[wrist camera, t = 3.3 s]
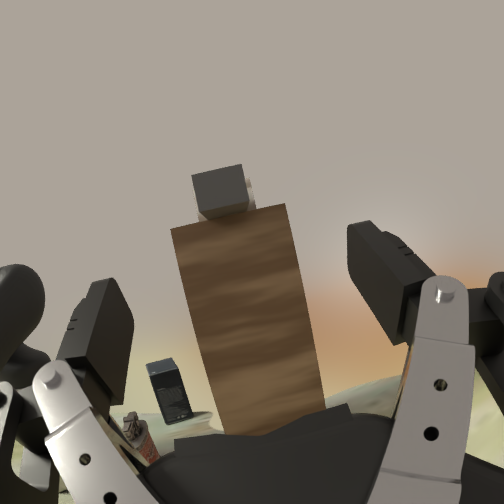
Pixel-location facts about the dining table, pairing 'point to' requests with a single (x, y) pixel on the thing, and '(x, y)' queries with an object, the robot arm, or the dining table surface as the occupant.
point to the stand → (250, 317)
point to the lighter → (140, 437)
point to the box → (169, 391)
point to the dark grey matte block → (221, 192)
